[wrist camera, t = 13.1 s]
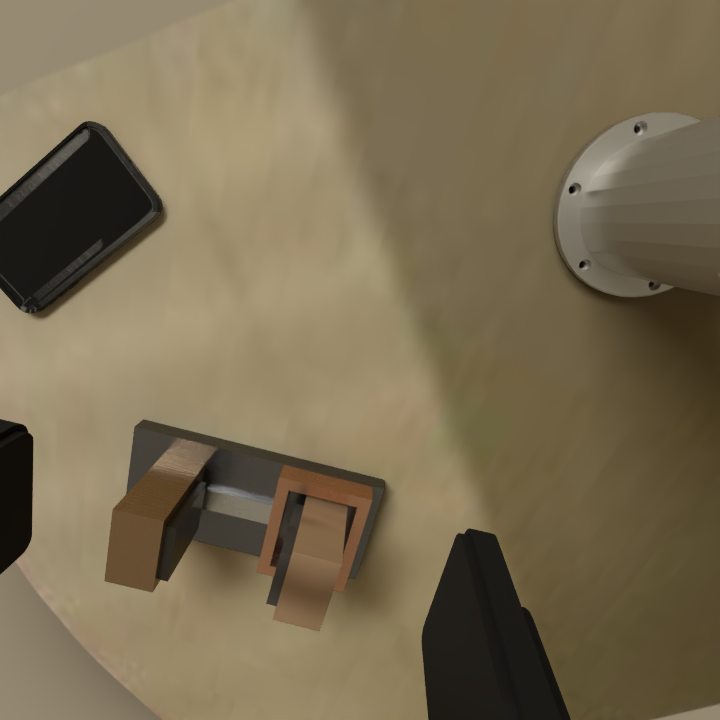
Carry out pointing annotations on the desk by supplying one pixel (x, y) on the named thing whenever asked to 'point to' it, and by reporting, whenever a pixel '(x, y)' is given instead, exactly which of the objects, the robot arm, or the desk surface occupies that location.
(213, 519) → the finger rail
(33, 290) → the phone
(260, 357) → the desk surface
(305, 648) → the desk surface
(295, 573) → the small cardboard box
